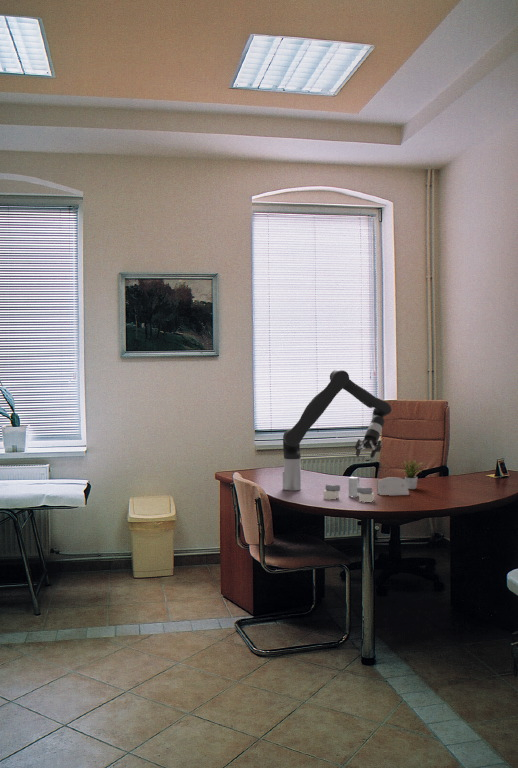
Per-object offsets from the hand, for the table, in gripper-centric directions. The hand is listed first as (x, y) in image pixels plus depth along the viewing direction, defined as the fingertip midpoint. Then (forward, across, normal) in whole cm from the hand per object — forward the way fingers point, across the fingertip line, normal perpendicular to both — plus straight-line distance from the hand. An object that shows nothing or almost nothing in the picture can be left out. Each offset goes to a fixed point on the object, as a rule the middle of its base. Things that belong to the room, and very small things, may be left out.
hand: (364, 456), depth 360 cm
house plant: (-3, +17, +32) cm, 36 cm away
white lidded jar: (+30, -8, -2) cm, 31 cm away
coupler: (+22, 0, +6) cm, 23 cm away
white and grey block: (+27, +11, 0) cm, 29 cm away
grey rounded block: (+10, +13, +18) cm, 25 cm away
